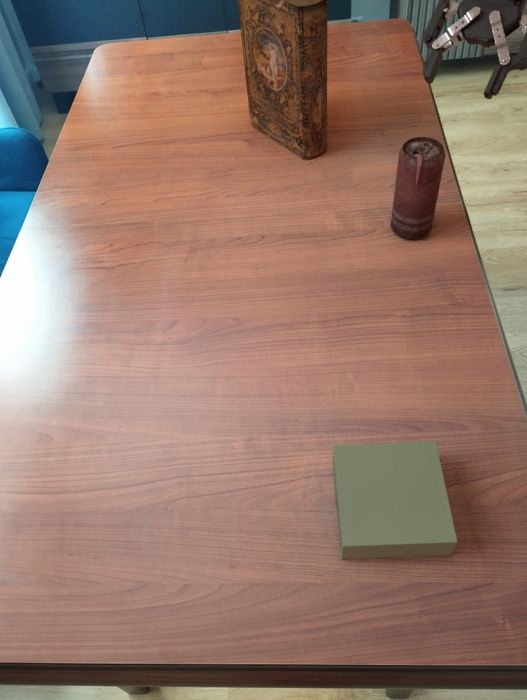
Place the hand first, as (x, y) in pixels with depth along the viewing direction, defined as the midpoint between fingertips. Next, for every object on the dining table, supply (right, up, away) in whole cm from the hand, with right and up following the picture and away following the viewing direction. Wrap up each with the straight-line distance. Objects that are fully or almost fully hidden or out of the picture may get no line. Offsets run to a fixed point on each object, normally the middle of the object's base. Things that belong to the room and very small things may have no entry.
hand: (456, 89), depth 79 cm
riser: (-13, -52, -16) cm, 56 cm away
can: (-4, -17, +11) cm, 20 cm away
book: (-21, +4, +28) cm, 35 cm away
